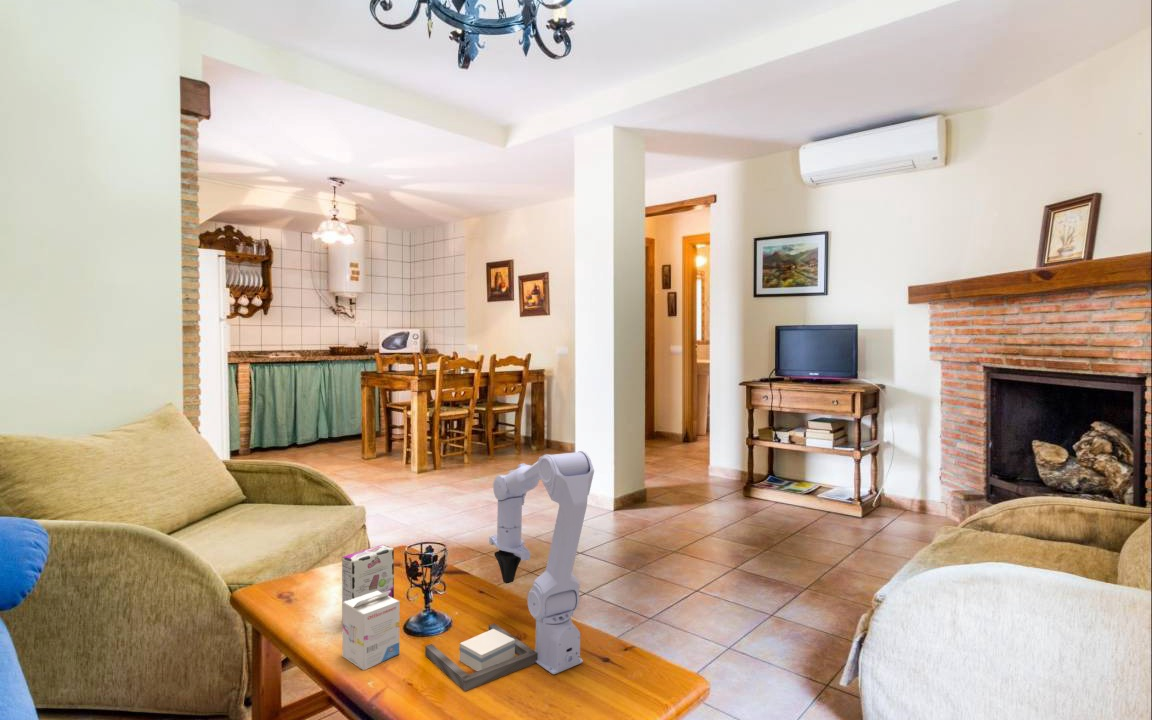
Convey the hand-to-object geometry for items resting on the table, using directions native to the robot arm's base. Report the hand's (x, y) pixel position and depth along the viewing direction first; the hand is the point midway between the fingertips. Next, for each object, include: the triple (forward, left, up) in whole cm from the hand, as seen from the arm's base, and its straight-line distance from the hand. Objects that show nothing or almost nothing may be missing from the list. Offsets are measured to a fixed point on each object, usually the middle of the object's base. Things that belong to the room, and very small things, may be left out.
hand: (508, 581), depth 144 cm
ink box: (+4, +32, -10) cm, 33 cm away
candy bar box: (+20, +26, -10) cm, 34 cm away
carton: (-12, +13, -10) cm, 20 cm away
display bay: (-12, +14, -9) cm, 21 cm away
